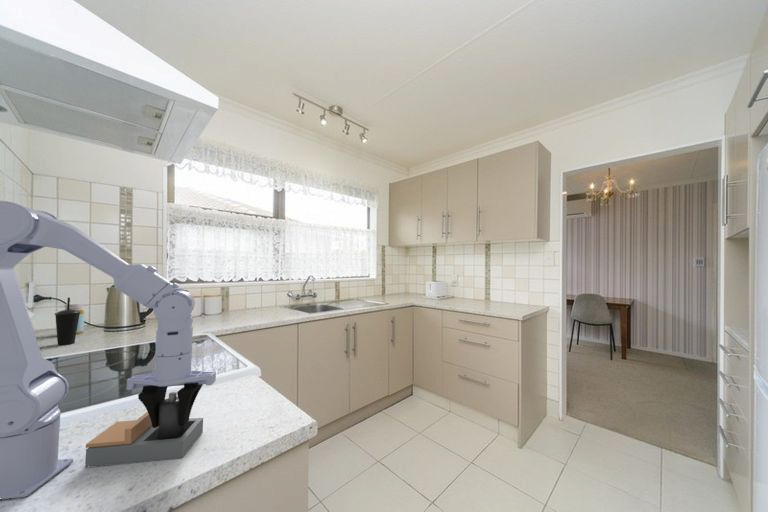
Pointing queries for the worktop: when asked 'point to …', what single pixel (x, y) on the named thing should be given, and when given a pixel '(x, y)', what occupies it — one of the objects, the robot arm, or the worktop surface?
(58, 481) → the worktop surface
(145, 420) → the tan l-shaped bracket
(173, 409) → the plug
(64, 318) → the drinking cup
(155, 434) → the socket block
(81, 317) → the bottle
